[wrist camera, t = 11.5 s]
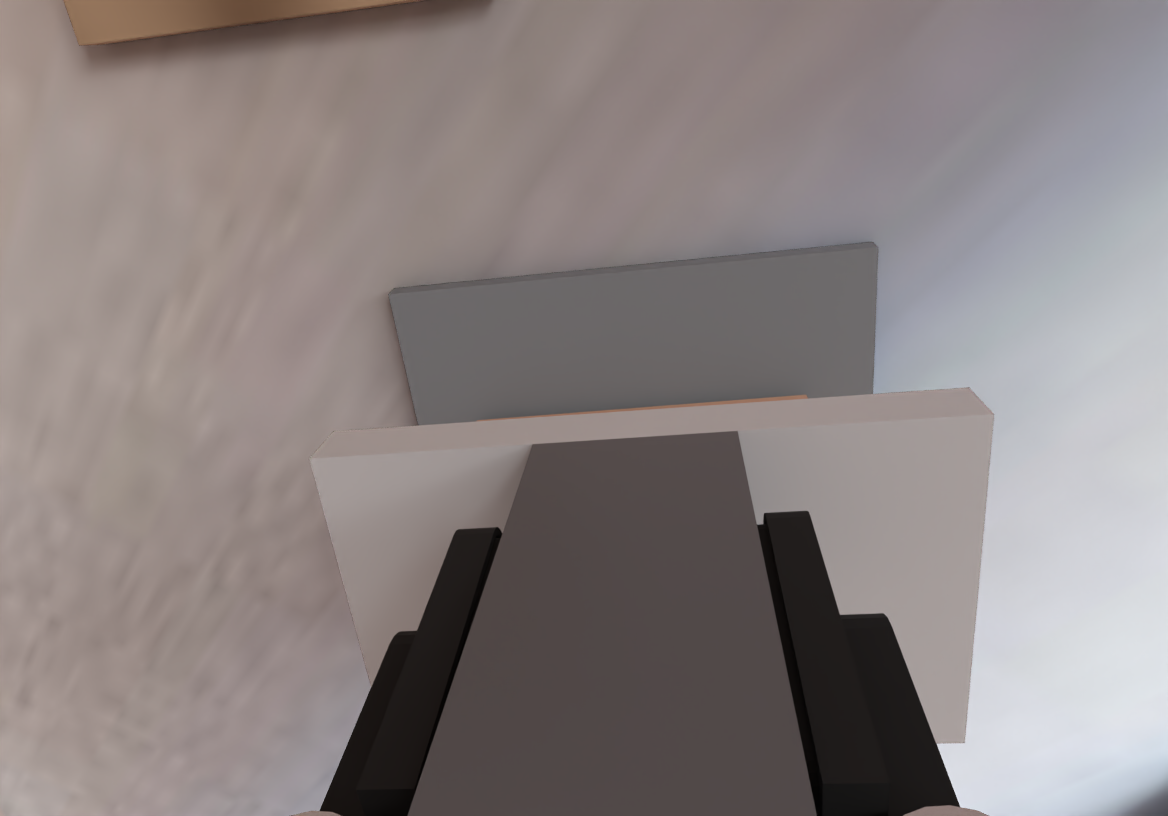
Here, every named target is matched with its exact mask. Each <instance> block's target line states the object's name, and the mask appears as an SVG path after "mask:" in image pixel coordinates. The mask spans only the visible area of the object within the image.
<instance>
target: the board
mask: <svg viewBox="0 0 1168 816" xmlns="http://www.w3.org/2000/svg"><path fill="white" fill-rule="evenodd" d="M417 1H424V0H64V3H65V6H66V9H67V12H68V15H69V18H70V21H71V23H72V26H73V29H74V32H75V35H76V38H77V41H78V43H79V46H80V45H103V44H110V43H118V42H125V41H132V40H139V39H147V38H154V37H161V36H169V35H176V34H183V33H191V32H198V31H205V30H212V29H220V28H227V27H234V26H242V25H249V24H256V23H264V22H271V21H278V20H286V19H293V18H300V17H307V16H315V15H322V14H329V13H337V12H344V11H351V10H359V9H366V8H373V7H381V6H388V5H395V4H402V3H410V2H417Z"/></svg>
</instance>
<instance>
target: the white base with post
mask: <svg viewBox="0 0 1168 816" xmlns="http://www.w3.org/2000/svg"><path fill="white" fill-rule="evenodd" d="M993 420H994V414H993V413H992V411H991V410H990V409H989V408H988V407H987V406H986V405H985V404H984V403H983V402H982V401H981V400H980V399H979V398H978V397H977V396H976V394H975V393H974V392H973V391H972V390H971V389H970V388H969V387H968V388H953V389H939V390H924V391H910V392H896V393H881V394H867V395H852V396H838V397H823V398H809V399H794V400H780V401H765V402H751V403H737V404H722V405H708V406H693V407H679V408H664V409H650V410H635V411H621V412H607V413H592V414H578V415H563V416H549V417H534V418H520V419H505V420H491V421H477V422H462V423H448V424H433V425H419V426H404V427H390V428H375V429H361V430H347V431H333V432H332V433H331V435H330V436H329V437H328V438H327V439H326V440H325V441H324V442H323V444H322V445H321V446H320V447H319V448H318V449H317V450H316V451H315V453H314V454H313V455H312V456H311V457H310V458H309V460H310V464H311V468H312V471H313V475H314V479H315V482H316V486H317V490H318V493H319V497H320V501H321V504H322V508H323V512H324V515H325V519H326V523H327V526H328V530H329V534H330V537H331V541H332V545H333V548H334V552H335V556H336V560H337V563H338V567H339V571H340V574H341V578H342V582H343V585H344V589H345V593H346V596H347V600H348V604H349V607H350V611H351V615H352V618H353V622H354V626H355V629H356V633H357V637H358V640H359V644H360V648H361V651H362V655H363V659H364V662H365V666H366V670H367V673H368V677H369V681H370V684H371V687H372V684H373V682H374V680H375V677H376V675H377V673H378V670H379V668H380V665H381V663H382V661H383V658H384V656H385V653H386V651H387V649H388V646H389V644H390V642H391V640H392V639H393V637H394V635H396V634H397V633H398V632H400V631H417V629H418V627H419V624H420V621H421V619H422V616H423V613H424V611H425V608H426V606H427V603H428V600H429V598H430V595H431V593H432V590H433V587H434V585H435V582H436V580H437V577H438V574H439V572H440V569H441V566H442V564H443V561H444V559H445V556H446V553H447V551H448V548H449V546H450V543H451V540H452V538H453V535H454V533H455V532H456V530H458V529H471V528H490V527H498V528H500V530H501V532H502V536H501V539H500V542H499V545H498V548H497V551H496V554H495V557H494V560H493V563H492V566H491V569H490V572H489V575H488V578H487V581H486V584H485V587H484V590H483V593H482V596H481V599H480V602H479V605H478V608H477V611H476V614H475V617H474V620H473V623H472V626H471V629H470V632H469V634H468V637H467V640H466V643H465V646H464V649H463V652H462V655H461V658H460V661H459V664H458V667H457V670H456V673H455V676H454V679H453V682H452V685H451V688H450V691H449V694H448V697H447V700H446V703H445V706H444V709H443V712H442V715H441V718H440V721H439V724H438V727H437V730H436V733H435V735H434V738H433V741H432V744H431V747H430V750H429V753H428V756H427V759H426V762H425V765H424V768H423V771H422V774H421V777H420V780H419V783H418V786H417V789H416V792H415V795H414V798H413V801H412V804H411V807H410V810H409V813H408V816H817V814H816V809H815V804H814V800H813V795H812V790H811V785H810V780H809V775H808V770H807V766H806V761H805V756H804V751H803V746H802V741H801V736H800V732H799V727H798V722H797V717H796V712H795V707H794V703H793V698H792V693H791V688H790V683H789V678H788V673H787V669H786V664H785V659H784V654H783V649H782V644H781V639H780V635H779V630H778V625H777V620H776V615H775V610H774V605H773V601H772V596H771V591H770V586H769V581H768V576H767V571H766V567H765V562H764V557H763V552H762V547H761V542H760V537H759V533H758V528H757V525H759V524H763V518H764V513H771V512H790V511H808V512H809V514H810V516H811V520H812V523H813V526H814V530H815V533H816V536H817V540H818V543H819V546H820V550H821V553H822V556H823V560H824V563H825V566H826V570H827V573H828V576H829V580H830V583H831V586H832V590H833V593H834V597H835V600H836V603H837V607H838V610H839V613H840V615H849V614H876V613H884V614H885V615H886V616H887V617H888V619H889V621H890V623H891V626H892V628H893V630H894V633H895V636H896V638H897V641H898V644H899V646H900V649H901V652H902V654H903V657H904V660H905V662H906V665H907V668H908V670H909V673H910V676H911V678H912V681H913V683H914V686H915V689H916V691H917V694H918V697H919V699H920V702H921V705H922V707H923V710H924V713H925V715H926V718H927V721H928V723H929V726H930V729H931V731H932V734H933V737H934V739H935V742H936V744H937V743H965V733H966V722H967V710H968V699H969V688H970V677H971V666H972V655H973V643H974V632H975V621H976V610H977V599H978V588H979V576H980V565H981V554H982V543H983V532H984V521H985V509H986V498H987V487H988V476H989V465H990V454H991V442H992V431H993Z"/></svg>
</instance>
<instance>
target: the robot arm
mask: <svg viewBox="0 0 1168 816" xmlns="http://www.w3.org/2000/svg"><path fill="white" fill-rule="evenodd" d="M757 528H758V533H759V537H760V542H761V547H762V552H763V557H764V562H765V567H766V571H767V576H768V581H769V586H770V591H771V596H772V601H773V605H774V610H775V615H776V620H777V625H778V630H779V635H780V639H781V644H782V649H783V654H784V659H785V664H786V669H787V673H788V678H789V683H790V688H791V693H792V698H793V703H794V707H795V712H796V717H797V722H798V727H799V732H800V736H801V741H802V746H803V751H804V756H805V761H806V766H807V770H808V775H809V780H810V785H811V790H812V795H813V800H814V804H815V809H816V814H817V816H988V815H986V814H984V813H982V812H979V811H977V810H972V809H967V808H961V807H960V805H959V803H958V800H957V797H956V795H955V792H954V790H953V787H952V784H951V782H950V779H949V776H948V774H947V771H946V768H945V766H944V763H943V760H942V758H941V755H940V752H939V750H938V747H937V744H936V742H935V739H934V737H933V734H932V731H931V729H930V726H929V723H928V721H927V718H926V715H925V713H924V710H923V707H922V705H921V702H920V699H919V697H918V694H917V691H916V689H915V686H914V683H913V681H912V678H911V676H910V673H909V670H908V668H907V665H906V662H905V660H904V657H903V654H902V652H901V649H900V646H899V644H898V641H897V638H896V636H895V633H894V630H893V628H892V626H891V623H890V621H889V619H888V617H887V616H886V615H885V614H884V613H876V614H849V615H840V613H839V610H838V607H837V603H836V600H835V597H834V593H833V590H832V586H831V583H830V580H829V576H828V573H827V570H826V566H825V563H824V560H823V556H822V553H821V550H820V546H819V543H818V540H817V536H816V533H815V530H814V526H813V523H812V520H811V516H810V514H809V512H808V511H790V512H771V513H764V518H763V524H759V525H757ZM501 536H502V532H501V530H500V528H498V527H490V528H471V529H458V530H456V532H455V533H454V535H453V538H452V540H451V543H450V546H449V548H448V551H447V553H446V556H445V559H444V561H443V564H442V566H441V569H440V572H439V574H438V577H437V580H436V582H435V585H434V587H433V590H432V593H431V595H430V598H429V600H428V603H427V606H426V608H425V611H424V613H423V616H422V619H421V621H420V624H419V627H418V629H417V631H400V632H398V633H397V634H396V635H394V637H393V639H392V640H391V642H390V644H389V646H388V649H387V651H386V653H385V656H384V658H383V661H382V663H381V665H380V668H379V670H378V673H377V675H376V677H375V680H374V682H373V684H372V687H371V689H370V692H369V694H368V696H367V699H366V701H365V704H364V706H363V708H362V711H361V713H360V716H359V718H358V720H357V723H356V725H355V728H354V730H353V732H352V735H351V737H350V740H349V742H348V744H347V747H346V749H345V751H344V754H343V756H342V759H341V761H340V763H339V766H338V768H337V771H336V773H335V775H334V778H333V780H332V783H331V785H330V787H329V790H328V792H327V795H326V797H325V799H324V802H323V804H322V807H321V809H320V811H309V812H304V813H300V814H296V815H291V816H408V813H409V810H410V807H411V804H412V801H413V798H414V795H415V792H416V789H417V786H418V783H419V780H420V777H421V774H422V771H423V768H424V765H425V762H426V759H427V756H428V753H429V750H430V747H431V744H432V741H433V738H434V735H435V733H436V730H437V727H438V724H439V721H440V718H441V715H442V712H443V709H444V706H445V703H446V700H447V697H448V694H449V691H450V688H451V685H452V682H453V679H454V676H455V673H456V670H457V667H458V664H459V661H460V658H461V655H462V652H463V649H464V646H465V643H466V640H467V637H468V634H469V632H470V629H471V626H472V623H473V620H474V617H475V614H476V611H477V608H478V605H479V602H480V599H481V596H482V593H483V590H484V587H485V584H486V581H487V578H488V575H489V572H490V569H491V566H492V563H493V560H494V557H495V554H496V551H497V548H498V545H499V542H500V539H501Z"/></svg>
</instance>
